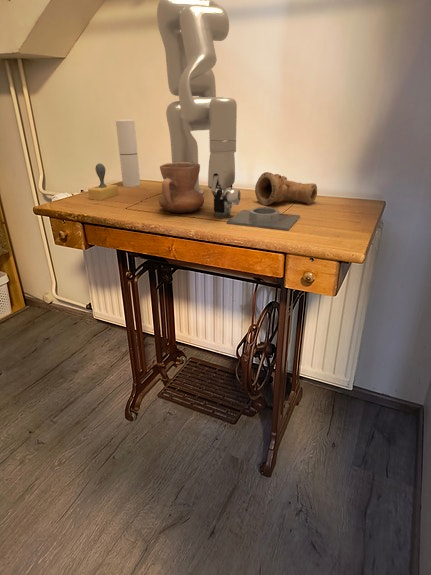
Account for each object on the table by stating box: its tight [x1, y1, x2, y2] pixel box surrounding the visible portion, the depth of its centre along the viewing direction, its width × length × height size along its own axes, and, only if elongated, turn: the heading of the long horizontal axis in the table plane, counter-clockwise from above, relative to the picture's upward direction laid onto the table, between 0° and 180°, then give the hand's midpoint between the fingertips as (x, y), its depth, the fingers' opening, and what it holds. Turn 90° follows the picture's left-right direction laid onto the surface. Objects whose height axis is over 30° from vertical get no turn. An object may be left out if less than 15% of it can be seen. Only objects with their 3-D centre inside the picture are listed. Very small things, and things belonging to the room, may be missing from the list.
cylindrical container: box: [115, 119, 141, 188], centre depth 157 cm, size 7×7×25 cm
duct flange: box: [226, 206, 301, 231], centre depth 113 cm, size 18×14×3 cm
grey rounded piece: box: [214, 186, 241, 219], centre depth 116 cm, size 7×5×8 cm, turn 66°
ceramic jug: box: [158, 162, 205, 214], centre depth 122 cm, size 18×14×14 cm
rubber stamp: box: [87, 162, 119, 201], centre depth 141 cm, size 10×6×12 cm, turn 154°
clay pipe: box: [254, 171, 318, 206], centre depth 130 cm, size 19×11×15 cm
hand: (222, 209), depth 118 cm, fingers closed on grey rounded piece, 4 cm apart
